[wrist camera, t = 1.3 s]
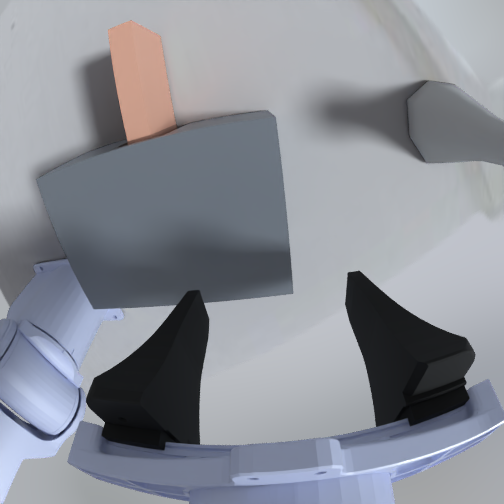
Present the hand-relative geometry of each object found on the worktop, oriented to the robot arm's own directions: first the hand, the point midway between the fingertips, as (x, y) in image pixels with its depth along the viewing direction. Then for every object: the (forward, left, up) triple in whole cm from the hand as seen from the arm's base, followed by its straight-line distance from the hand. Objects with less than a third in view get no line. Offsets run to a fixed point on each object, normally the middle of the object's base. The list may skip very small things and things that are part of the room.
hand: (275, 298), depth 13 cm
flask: (+15, +7, -10) cm, 19 cm away
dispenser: (-6, +3, -9) cm, 12 cm away
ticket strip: (-6, +7, -9) cm, 13 cm away
